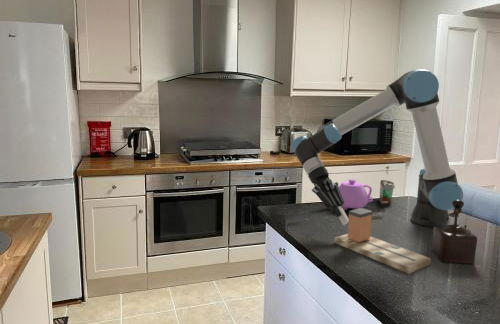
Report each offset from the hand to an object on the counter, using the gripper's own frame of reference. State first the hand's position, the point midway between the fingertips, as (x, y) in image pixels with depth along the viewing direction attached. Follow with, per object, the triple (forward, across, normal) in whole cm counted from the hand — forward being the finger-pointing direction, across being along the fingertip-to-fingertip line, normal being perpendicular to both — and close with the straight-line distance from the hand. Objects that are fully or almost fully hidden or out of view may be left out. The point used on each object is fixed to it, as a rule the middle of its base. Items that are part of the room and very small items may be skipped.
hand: (346, 223), depth 149 cm
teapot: (-14, -33, -23) cm, 43 cm away
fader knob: (+7, 0, +1) cm, 7 cm away
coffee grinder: (+26, -20, +16) cm, 36 cm away
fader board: (+15, 0, +6) cm, 16 cm away
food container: (-11, -57, -20) cm, 61 cm away
